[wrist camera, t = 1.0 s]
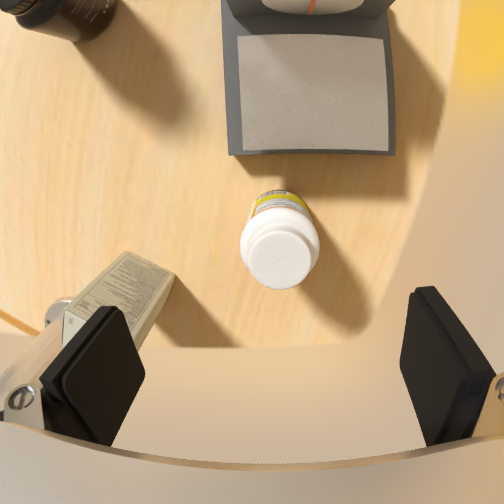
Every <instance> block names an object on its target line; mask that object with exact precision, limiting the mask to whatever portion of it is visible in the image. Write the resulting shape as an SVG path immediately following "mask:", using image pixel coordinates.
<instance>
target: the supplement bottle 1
mask: <svg viewBox="0 0 504 504" xmlns="http://www.w3.org/2000/svg"><path fill="white" fill-rule="evenodd" d="M0 9H1V11H4V12H6V13H10V14H12V15H15V18H16V21H17V22H18V24H19V25H20V26H21V27H23V28H25V29H28V30H31V31H35V32H39V33H43V34H47V35H51V36H55V37H58V38H62V39H65V40H69V41H73V42H83V41H87V40H90V39H92V38H94V37H95V36H97V35H98V34H100V33H101V32H102V31H103V30H104V29H105V28H106V27H107V26H108V24H109V23H110V21H111V20H112V18H113V15H114V13H115V9H116V0H0Z"/></svg>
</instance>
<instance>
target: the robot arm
mask: <svg viewBox="0 0 504 504" xmlns="http://www.w3.org/2000/svg"><path fill="white" fill-rule="evenodd" d="M73 299H74V298H70V297H68V298H61V299H59V300H57V301H56V302H54V303H53V304H52V305H51V306H50V307H49V308H48V310H47V312H46V315H45V329H44V330H43V331H42V332H41V333H40V334H39V335H38V336H37V337H36V338H35V339H34V341H33V342H32V343H31V344H30V345H29V346H28V347H27V348H26V349H25V350H24V351H23V352H22V353H21V354H20V355H19V356H18V357H17V359H16V360H15V361H14V362H13V363H12V364H11V365H10V366H9V368H7V370H6V371H5V372H4V373H3V374H2V375H1V376H0V504H504V372H503V373H501V374H498V375H496V373H495V372H494V370H493V369H492V367H491V365H490V364H489V362H488V361H487V359H486V358H485V356H484V354H483V353H482V351H481V350H480V348H479V347H478V346H477V344H476V343H475V341H474V340H473V338H472V337H471V335H470V334H469V332H468V331H467V330H466V328H465V327H464V325H463V324H462V323H461V322H460V320H459V319H458V318H457V316H456V314H455V313H454V312H453V310H452V309H451V308H450V306H449V305H448V304H447V302H446V301H445V300H444V298H443V297H442V296H441V294H440V293H439V292H438V291H437V289H436V288H435V287H434V286H427V287H418V288H416V289H415V292H414V293H411V294H410V296H409V304H408V311H407V319H406V325H405V332H404V339H403V344H402V350H401V356H400V370H401V372H402V375H403V378H404V381H405V383H406V386H407V389H408V392H409V395H410V397H411V400H412V403H413V406H414V409H415V412H416V415H417V418H418V421H419V424H420V427H421V430H422V433H423V436H424V440H425V443H426V446H427V447H425V448H420V449H415V450H410V451H404V452H399V453H393V454H387V455H380V456H374V457H367V458H359V459H350V460H341V461H330V462H316V463H297V464H240V463H220V462H207V461H195V460H187V459H178V458H170V457H163V456H156V455H150V454H144V453H138V452H133V451H127V450H122V449H117V448H113V447H111V445H112V443H113V441H114V439H115V437H116V435H117V433H118V431H119V429H120V427H121V425H122V423H123V421H124V419H125V416H126V414H127V412H128V410H129V408H130V406H131V404H132V402H133V400H134V398H135V396H136V394H137V392H138V390H139V388H140V386H141V384H142V382H143V380H144V378H145V370H144V367H143V364H142V362H141V359H140V357H139V354H138V352H137V349H136V346H135V344H134V341H133V338H132V336H131V333H130V330H129V327H128V325H127V322H126V319H125V316H124V313H123V312H122V311H121V310H119V308H118V307H117V306H100V307H99V308H98V309H97V310H96V311H95V312H94V314H93V315H92V316H91V317H90V318H89V319H88V320H87V321H86V323H85V324H84V325H83V326H82V327H81V328H80V329H79V331H78V332H77V333H76V334H75V335H74V336H73V338H72V339H71V340H70V341H69V342H68V343H67V345H66V346H65V347H63V346H62V345H61V334H62V322H63V313H64V308H65V307H66V306H67V305H68V304H69V303H70V302H71V301H72V300H73Z"/></svg>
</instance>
